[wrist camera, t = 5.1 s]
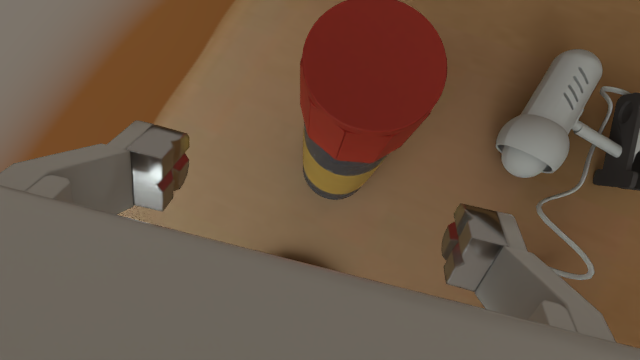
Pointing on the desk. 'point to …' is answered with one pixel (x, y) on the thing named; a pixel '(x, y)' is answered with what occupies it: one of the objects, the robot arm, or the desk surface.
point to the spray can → (333, 171)
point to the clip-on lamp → (560, 117)
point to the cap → (369, 77)
